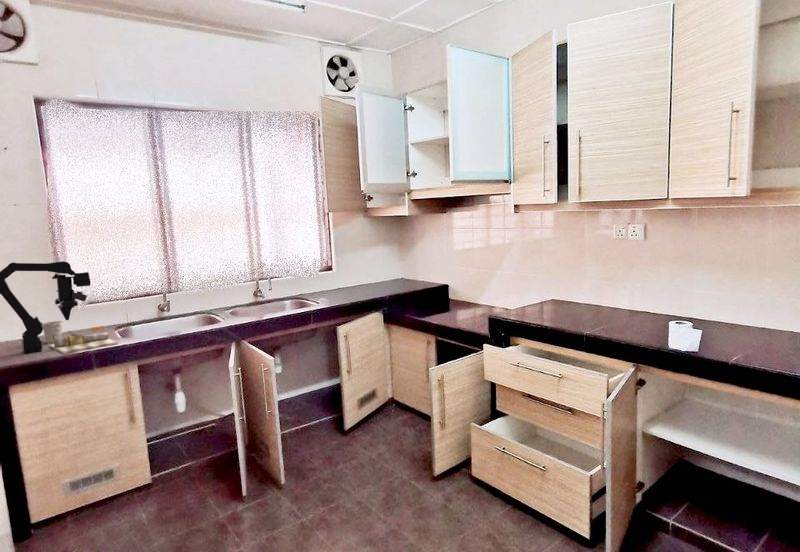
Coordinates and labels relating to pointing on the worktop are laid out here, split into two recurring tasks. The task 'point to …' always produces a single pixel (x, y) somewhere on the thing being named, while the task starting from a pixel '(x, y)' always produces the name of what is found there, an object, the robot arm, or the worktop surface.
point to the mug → (52, 331)
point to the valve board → (84, 346)
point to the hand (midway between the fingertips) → (67, 320)
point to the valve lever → (88, 330)
